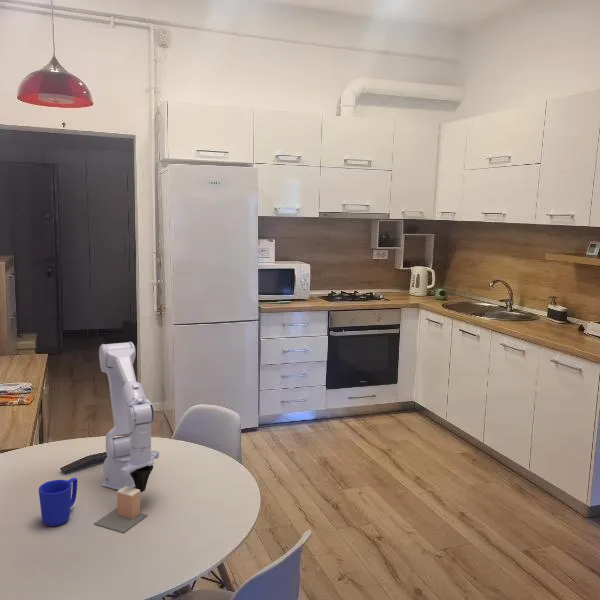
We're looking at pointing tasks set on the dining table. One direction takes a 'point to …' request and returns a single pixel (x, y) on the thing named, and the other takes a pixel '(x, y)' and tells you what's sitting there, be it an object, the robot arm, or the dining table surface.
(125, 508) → the block
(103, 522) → the mat
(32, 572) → the dining table surface
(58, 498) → the mug
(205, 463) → the dining table surface
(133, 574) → the dining table surface
